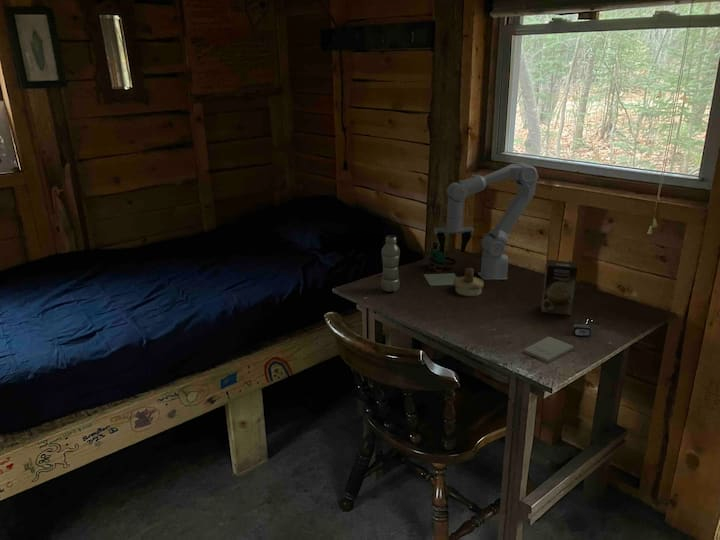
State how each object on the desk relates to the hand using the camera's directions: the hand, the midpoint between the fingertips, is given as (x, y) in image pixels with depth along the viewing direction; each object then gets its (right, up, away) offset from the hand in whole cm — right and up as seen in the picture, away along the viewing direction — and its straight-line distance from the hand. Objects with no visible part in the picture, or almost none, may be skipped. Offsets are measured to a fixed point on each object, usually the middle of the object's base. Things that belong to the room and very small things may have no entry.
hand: (452, 252), depth 208 cm
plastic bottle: (-24, -14, -8) cm, 29 cm away
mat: (-4, -11, +1) cm, 11 cm away
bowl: (+4, -15, -10) cm, 18 cm away
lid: (+4, -12, -11) cm, 17 cm away
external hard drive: (+18, -30, -51) cm, 62 cm away
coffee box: (+30, -20, -25) cm, 43 cm away
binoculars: (-2, -6, +14) cm, 15 cm away
